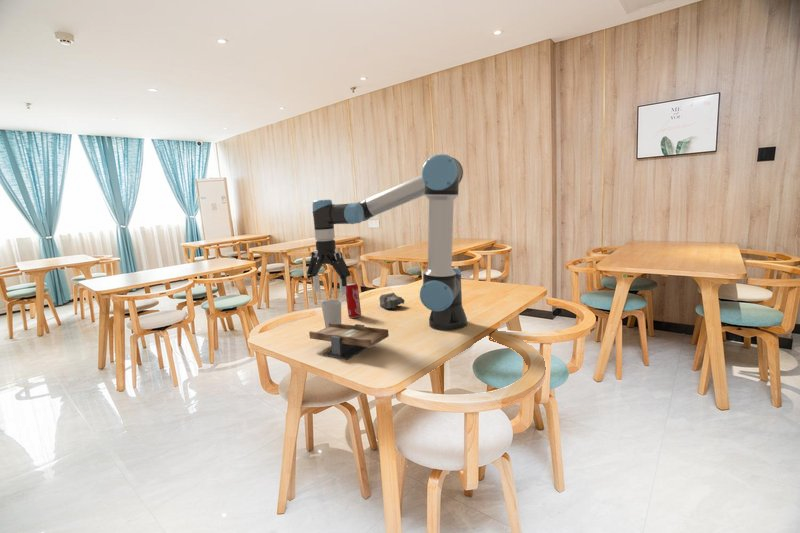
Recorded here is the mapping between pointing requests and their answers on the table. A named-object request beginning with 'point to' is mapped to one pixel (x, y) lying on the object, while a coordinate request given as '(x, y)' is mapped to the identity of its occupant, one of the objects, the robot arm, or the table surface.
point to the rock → (390, 301)
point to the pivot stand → (343, 348)
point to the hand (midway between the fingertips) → (329, 293)
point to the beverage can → (353, 300)
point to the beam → (351, 334)
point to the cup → (331, 311)
